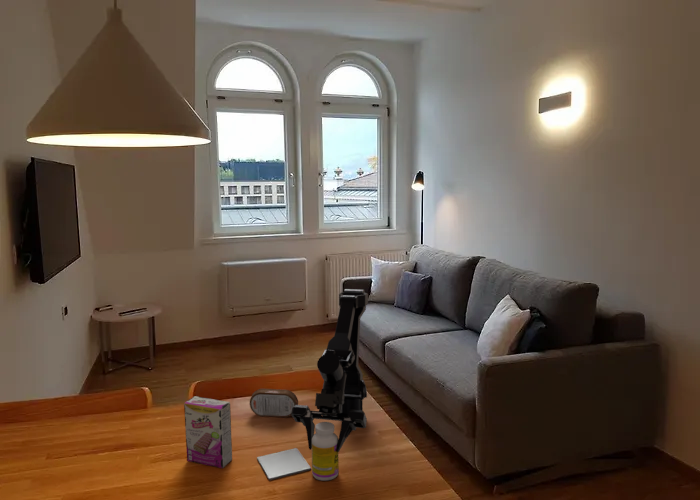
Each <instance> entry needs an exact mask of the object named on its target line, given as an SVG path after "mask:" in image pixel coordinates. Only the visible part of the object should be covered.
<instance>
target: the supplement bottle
mask: <svg viewBox="0 0 700 500" xmlns="http://www.w3.org/2000/svg"><path fill="white" fill-rule="evenodd" d="M334 424H335V423H332V422H329V421H320V422H318V423H316V424H315V430H314V432H315V433H314V435H313V437H312V449H311V473H312V476H313V477H314V479H316V480H318V481H323V482H324V481H325V482H327V481H332V480H335V478H336V477H338V475H339V472H340V471H339V467H340V466H339V465H340V464H339V459H340V458H339V452H337V451H336V450H337V443H338V439H339V436H338V435H337V433H335V425H334Z"/></svg>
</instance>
